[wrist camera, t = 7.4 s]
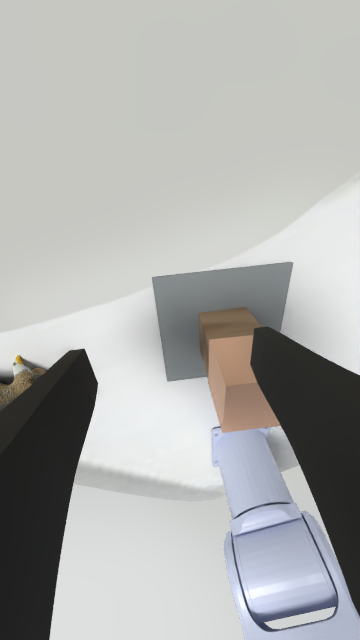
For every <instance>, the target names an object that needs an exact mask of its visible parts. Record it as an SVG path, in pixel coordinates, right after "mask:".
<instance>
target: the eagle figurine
mask: <svg viewBox="0 0 360 640" xmlns="http://www.w3.org/2000/svg"><path fill="white" fill-rule="evenodd" d="M12 367H13V372H14V382H13V383H11V384H10V385H6V384H2V383H0V411H1V410H3V409H4V408H5V407H6V406H7V405H8V404H10V403H11V402H12V401H13V400H14V399H16V398H17V397H18V396H19V395H20V394H22V393H23V392H24V391H25V390H26V389H27V388H29V387H30V386H31V385H32V384H33V383H34V382H35V381H36V380H37V379H36V378H35V377H34V376H33V375H32V374H37V375H43V374H44V373H45V372H46V370H44V369H42V368H39V367H37V368H35V369H32V370H31V371H30V372H29V371H28V370H27V369H26V368H25V366H24V364H23V363H22V361H21V358H20V355H19V356H17V357H16V360H15V362H14V363H13V365H12ZM31 373H32V374H31Z"/></svg>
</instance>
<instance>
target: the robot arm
mask: <svg viewBox="0 0 360 640" xmlns="http://www.w3.org/2000/svg"><path fill="white" fill-rule="evenodd" d="M250 365H251V368H252V370H253V373H254V376H255V378H256V381H257V383H258V385H259V387H260V389H261V391H262V393H263V394H264V396H265V398H266V400H267V402H268V403H269V405H270V407H271V409H272V411H273V412H274V414H275V416H276V418H277V420H278V421H279V423H280V425H281V427H282V429H283V430H284V432H285V434H286V436H287V438H288V440H289V442H290V444H291V446H292V448H293V451H294V453H295V455H296V457H297V460H298V462H299V464H300V466H301V468H302V471H303V473H304V475H305V478H306V481H307V483H308V485H309V488H310V490H311V493H312V495H313V497H314V500H315V502H316V505H317V507H318V510H319V512H320V515H321V517H322V520H323V523H324V525H325V528H326V530H327V533H328V535H329V538H330V541H331V544H332V546H333V549H334V552H335V554H336V557H337V559H336V557H335V555H334V553H333V551H332V549H331V547H330V545H329V543H328V541H327V539H326V537H325V535H324V533H323V531H322V529H321V527H320V525H319V524H318V522H317V520H316V519H315V517H314V516H312V515H310V514H309V513H308V512H307V511H302V512H301V513H300V511H299V509H298V507H297V504H296V503H294V502H293V500H292V498H291V495H290V493H289V491H288V488H287V486H286V484H285V482H284V480H283V477H282V475H281V473H280V470H279V468H278V466H277V464H276V461H275V459H274V457H273V455H272V452H271V450H270V448H269V446H268V443H267V438H268V433H269V429H270V427H265V428H258V429H250V430H242V431H234V432H227V433H222V430H221V428H215V429H213V430H212V464H213V466H214V467H218V466H220V470H221V475H222V479H223V483H224V487H225V492H226V496H227V500H228V505H229V509H230V512H231V516H232V520H231V521H230V527H231V531H229V532H227V534H226V539H225V541H224V554H225V562H226V568H227V573H228V578H229V583H230V587H231V591H232V594H233V598H234V601H235V604H236V607H237V610H238V612H239V616H240V621H241V625H242V629H243V633H244V638H245V640H360V375H358V374H355V373H353V372H351V371H349V370H347V369H345V368H343V367H341V366H339V365H337V364H335V363H333V362H331V361H329V360H327V359H325V358H323V357H322V356H320V355H318V354H316V353H314V352H312V351H311V350H309V349H307V348H305V347H304V346H302V345H300V344H298V343H297V342H295V341H293V340H292V339H290V338H288V337H286V336H285V335H283V334H281V333H279V332H278V331H276V330H274V329H272V328H270V327H268V326H267V327H259V328H254V334H253V343H252V352H251V360H250ZM97 387H98V382H97V380H96V377H95V375H94V372H93V369H92V367H91V364H90V361H89V359H88V356H87V354H86V351H85V349H79V350H71V351H69V352H67V353H66V354H65V355H64V356H63V357H62V358H60V359H59V360H58V361H57V362H56V363H55V364H54V365H53V366H52V367H51V368H49V369H48V370H47V371H46V372H45V373H44V374H43V375H42V376H41V377H40V378H38V379H37V380H36V381H35V382H34V383H33V384H32V385H31V386H30V387H29V388H27V389H26V390H25V391H24V392H23V393H22V394H20V395H19V396H18V397H17V398H16V399H14V400H13V401H12V402H11V403H10V404H8V405H7V406H6V407H5V408H4V409H3V410H1V411H0V640H49V637H50V629H51V621H52V613H53V605H54V597H55V589H56V582H57V575H58V568H59V562H60V554H61V549H62V542H63V536H64V530H65V525H66V519H67V513H68V508H69V502H70V497H71V492H72V487H73V482H74V477H75V473H76V469H77V465H78V461H79V458H80V455H81V451H82V448H83V444H84V441H85V438H86V434H87V431H88V428H89V424H90V421H91V417H92V414H93V410H94V406H95V401H96V394H97ZM301 514H302V515H301ZM302 517H303V518H302ZM337 560H338V561H337ZM338 563H339V564H338ZM339 565H340V566H339ZM335 606H336V608H335V611H334V614H333V615H332V616H331V617H329V618H327V619H325V620H320V621H316V622H311V623H306V624H302V625H297V626H293V627H288V628H284V629H272V628H270V627H268V626H267V625H266V624H265V623H264V622H268V621H272V620H276V619H281V618H285V617H290V616H294V615H299V614H304V613H308V612H313V611H317V610H322V609H326V608H330V607H335Z"/></svg>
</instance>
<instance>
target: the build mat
mask: <svg viewBox="0 0 360 640" xmlns="http://www.w3.org/2000/svg"><path fill="white" fill-rule="evenodd" d="M292 266H293V263H292V262H286V263H277V264H268V265H259V266H249V267H240V268H231V269H222V270H213V271H203V272H194V273H185V274H176V275H167V276H158V277H152V281H153V288H154V294H155V301H156V308H157V315H158V321H159V328H160V335H161V341H162V348H163V355H164V361H165V368H166V375H167V381H176V380H183V379H191V378H199V377H206V376H207V373H206V370H205V366H204V363H203V359H202V356H201V352H200V335H199V313H200V312H208V311H217V310H225V309H234V308H242V307H247V308H248V310H249V311H250V312H251V313H252V315H253V316H254V317H255V319H256V320H257V321H258V322H259V324H260V325H261V326H262V327H267V326H268V327H270V328H272V329H274V330H276V331H278V332H279V333H280V329H281V324H282V319H283V314H284V308H285V303H286V298H287V293H288V287H289V282H290V277H291V272H292Z"/></svg>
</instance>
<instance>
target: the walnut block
mask: <svg viewBox="0 0 360 640" xmlns="http://www.w3.org/2000/svg"><path fill="white" fill-rule="evenodd" d="M259 327H262V326H261V325H260V324H259V322H258V321H257V320H256V319H255V317H254V316H253V315H252V313H251V312H250V311H249V310H248V308H247V307H242V308H234V309H225V310H217V311H208V312H200V313H199V335H200V352H201V356H202V359H203V363H204V366H205V370H206V373H207V377H208V372H209V340H210V339H219V338H229V337H239V336H249V335H253V334H254V328H259Z"/></svg>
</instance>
